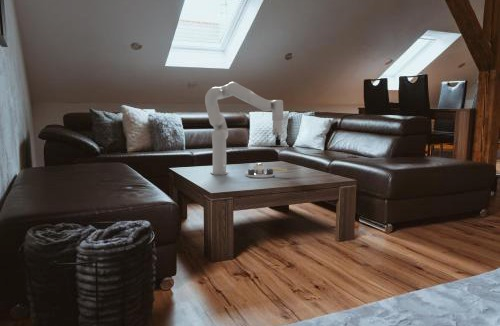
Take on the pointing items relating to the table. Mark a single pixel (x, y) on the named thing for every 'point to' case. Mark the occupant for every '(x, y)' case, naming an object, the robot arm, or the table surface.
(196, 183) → the table surface
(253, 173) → the tribrach
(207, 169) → the table surface
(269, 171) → the footscrew knob
